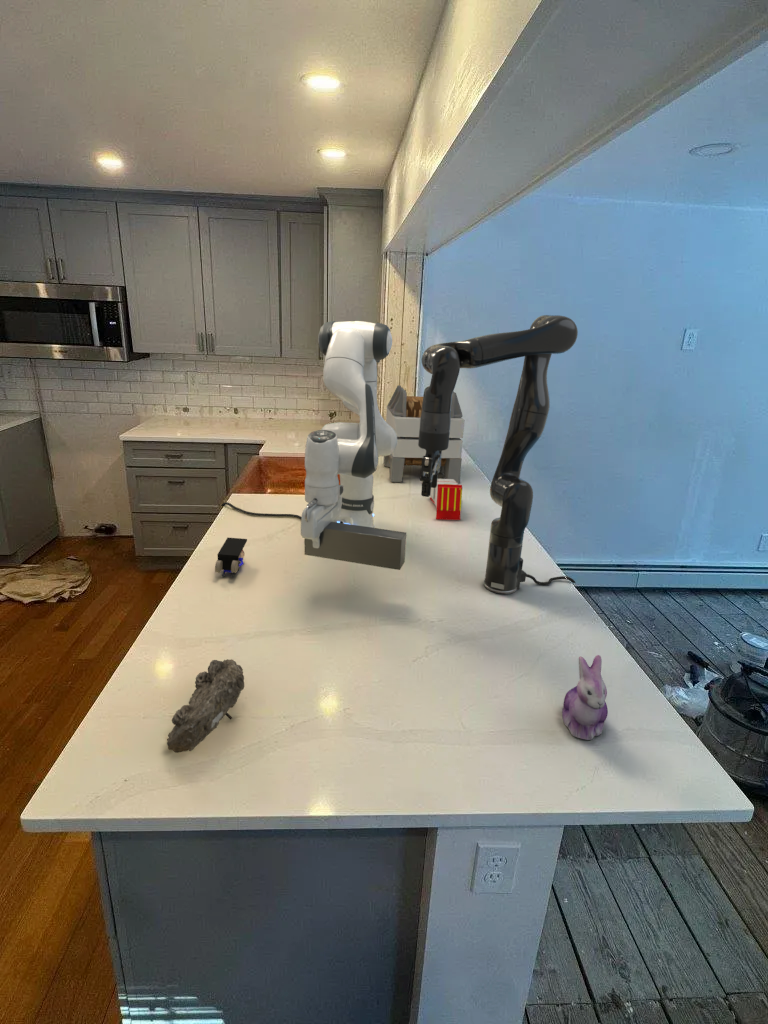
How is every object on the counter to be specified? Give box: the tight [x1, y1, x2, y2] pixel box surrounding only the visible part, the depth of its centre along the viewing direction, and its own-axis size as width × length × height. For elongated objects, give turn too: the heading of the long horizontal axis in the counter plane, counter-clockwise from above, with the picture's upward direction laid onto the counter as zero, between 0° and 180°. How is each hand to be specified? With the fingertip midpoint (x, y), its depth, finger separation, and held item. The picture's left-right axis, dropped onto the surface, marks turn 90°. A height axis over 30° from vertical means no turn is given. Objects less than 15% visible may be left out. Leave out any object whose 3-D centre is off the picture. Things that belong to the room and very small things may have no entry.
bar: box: [303, 522, 407, 571], centre depth 150 cm, size 26×5×8 cm, turn 74°
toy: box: [429, 478, 463, 521], centre depth 226 cm, size 12×13×30 cm
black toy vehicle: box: [214, 537, 248, 578], centre depth 166 cm, size 7×8×15 cm
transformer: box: [383, 384, 465, 484], centre depth 268 cm, size 34×33×41 cm
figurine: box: [561, 654, 609, 741], centre depth 108 cm, size 9×10×15 cm
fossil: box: [166, 658, 245, 754], centre depth 106 cm, size 22×10×15 cm
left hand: (321, 542), depth 153 cm, fingers closed on bar, 5 cm apart
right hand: (429, 491), depth 146 cm, fingers open, 8 cm apart
